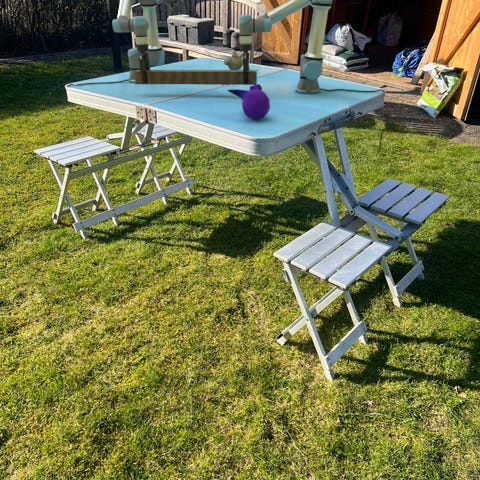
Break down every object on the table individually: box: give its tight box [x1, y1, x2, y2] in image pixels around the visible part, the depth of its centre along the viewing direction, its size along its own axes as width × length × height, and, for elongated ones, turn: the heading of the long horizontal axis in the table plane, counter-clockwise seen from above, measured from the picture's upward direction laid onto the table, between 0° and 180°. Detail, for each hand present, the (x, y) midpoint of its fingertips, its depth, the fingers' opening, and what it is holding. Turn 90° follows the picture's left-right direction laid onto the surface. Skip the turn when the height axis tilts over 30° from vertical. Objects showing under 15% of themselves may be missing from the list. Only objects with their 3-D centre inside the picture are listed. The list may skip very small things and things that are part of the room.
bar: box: [134, 69, 258, 86], centre depth 286 cm, size 78×6×8 cm, turn 83°
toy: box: [227, 83, 271, 121], centre depth 243 cm, size 16×18×27 cm
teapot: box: [223, 50, 244, 70], centre depth 366 cm, size 21×12×15 cm, turn 120°
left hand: (146, 82), depth 292 cm, fingers closed on bar, 6 cm apart
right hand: (246, 82), depth 285 cm, fingers closed on bar, 6 cm apart
